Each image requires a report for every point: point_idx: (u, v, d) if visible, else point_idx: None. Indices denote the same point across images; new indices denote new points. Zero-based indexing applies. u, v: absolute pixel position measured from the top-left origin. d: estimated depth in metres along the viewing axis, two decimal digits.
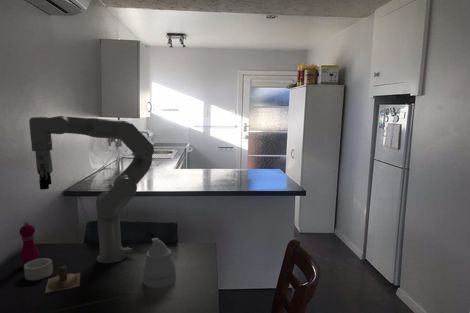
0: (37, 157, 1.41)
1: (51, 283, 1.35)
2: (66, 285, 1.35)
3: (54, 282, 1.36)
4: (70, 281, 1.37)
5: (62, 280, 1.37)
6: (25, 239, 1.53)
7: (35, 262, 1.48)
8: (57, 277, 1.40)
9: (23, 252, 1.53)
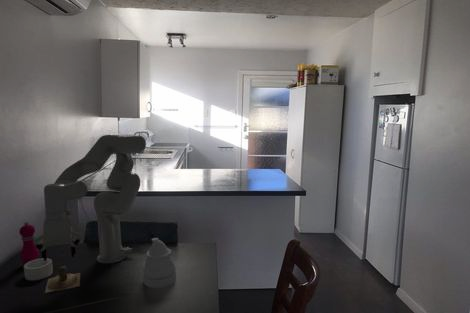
0: (70, 224, 1.35)
1: (51, 283, 1.35)
2: (66, 285, 1.35)
3: (54, 282, 1.36)
4: (70, 281, 1.37)
5: (62, 280, 1.37)
6: (25, 239, 1.53)
7: (35, 262, 1.48)
8: (57, 277, 1.40)
9: (23, 252, 1.53)
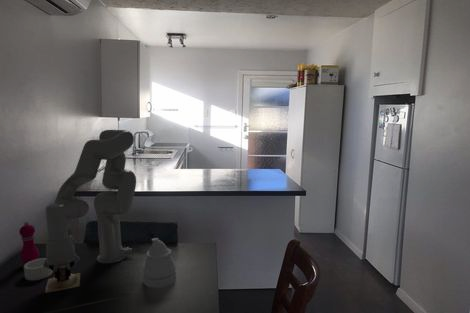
0: (72, 243, 1.37)
1: (51, 283, 1.35)
2: (66, 285, 1.35)
3: (54, 282, 1.36)
4: (70, 281, 1.37)
5: (62, 280, 1.37)
6: (25, 239, 1.53)
7: (35, 262, 1.48)
8: None
9: (23, 252, 1.53)
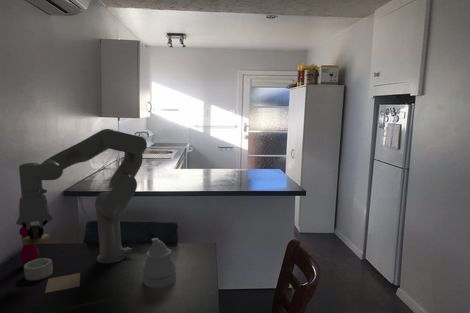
0: (45, 202, 1.41)
1: (24, 240, 1.40)
2: (39, 242, 1.39)
3: (27, 239, 1.40)
4: (43, 239, 1.41)
5: (35, 238, 1.41)
6: None
7: (35, 262, 1.48)
8: None
9: (23, 252, 1.53)
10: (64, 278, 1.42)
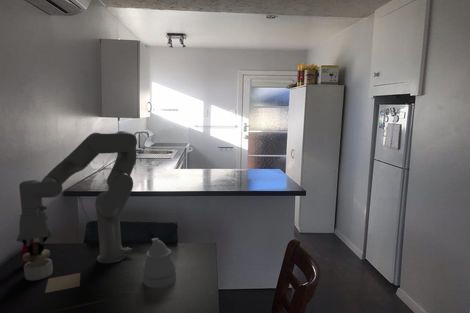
0: (45, 219, 1.43)
1: (24, 257, 1.41)
2: (38, 259, 1.40)
3: (27, 256, 1.42)
4: (43, 255, 1.43)
5: (35, 254, 1.43)
6: None
7: (35, 262, 1.48)
8: None
9: (23, 252, 1.53)
10: (64, 278, 1.42)
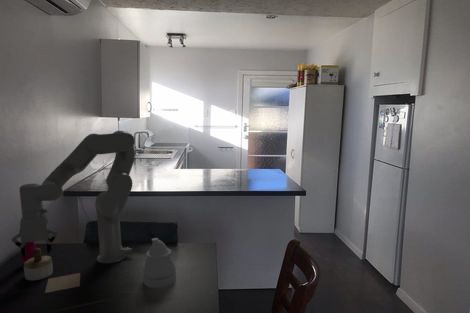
0: (45, 222, 1.43)
1: (26, 264, 1.42)
2: (40, 265, 1.41)
3: (29, 263, 1.43)
4: (44, 262, 1.43)
5: (36, 261, 1.43)
6: None
7: None
8: (32, 258, 1.47)
9: None
10: (64, 278, 1.42)
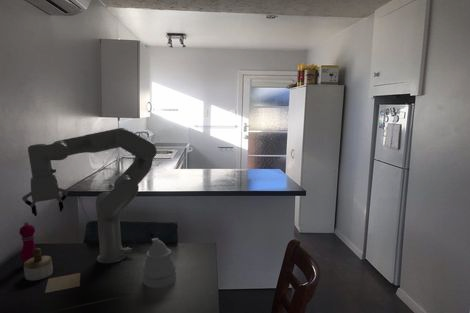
0: (55, 181, 1.46)
1: (26, 264, 1.42)
2: (40, 265, 1.41)
3: (29, 263, 1.43)
4: (44, 262, 1.43)
5: (36, 261, 1.43)
6: (25, 239, 1.53)
7: None
8: (32, 258, 1.47)
9: (23, 252, 1.53)
10: (64, 278, 1.42)
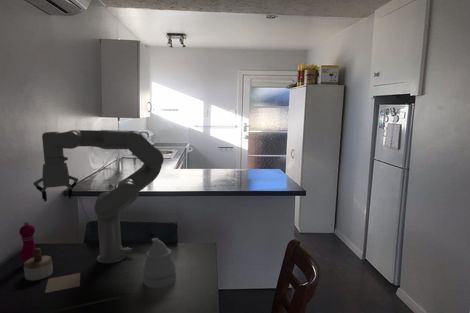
0: (66, 169, 1.50)
1: (26, 264, 1.42)
2: (40, 265, 1.41)
3: (29, 263, 1.43)
4: (44, 262, 1.43)
5: (36, 261, 1.43)
6: (25, 239, 1.53)
7: None
8: (32, 258, 1.47)
9: (23, 252, 1.53)
10: (64, 278, 1.42)
